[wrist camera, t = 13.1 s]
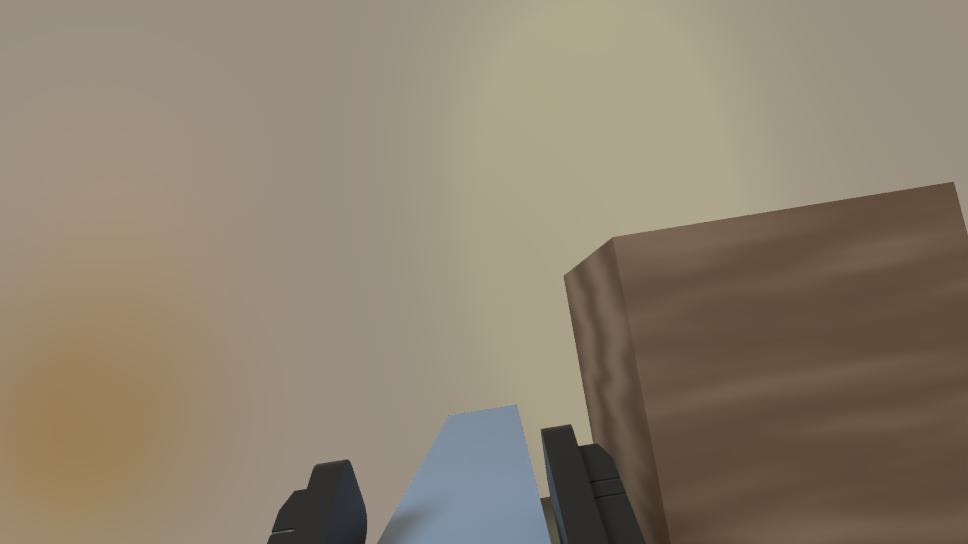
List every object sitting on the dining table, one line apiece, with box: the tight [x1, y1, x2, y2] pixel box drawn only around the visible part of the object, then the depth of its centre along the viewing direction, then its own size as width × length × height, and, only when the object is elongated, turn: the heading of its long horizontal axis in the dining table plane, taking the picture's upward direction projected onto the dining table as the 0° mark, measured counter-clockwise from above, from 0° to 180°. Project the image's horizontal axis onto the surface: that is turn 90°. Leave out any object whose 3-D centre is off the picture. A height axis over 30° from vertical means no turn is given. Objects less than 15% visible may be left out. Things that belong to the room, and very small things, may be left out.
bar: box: [377, 405, 551, 544], centre depth 19 cm, size 24×4×4 cm, turn 178°
